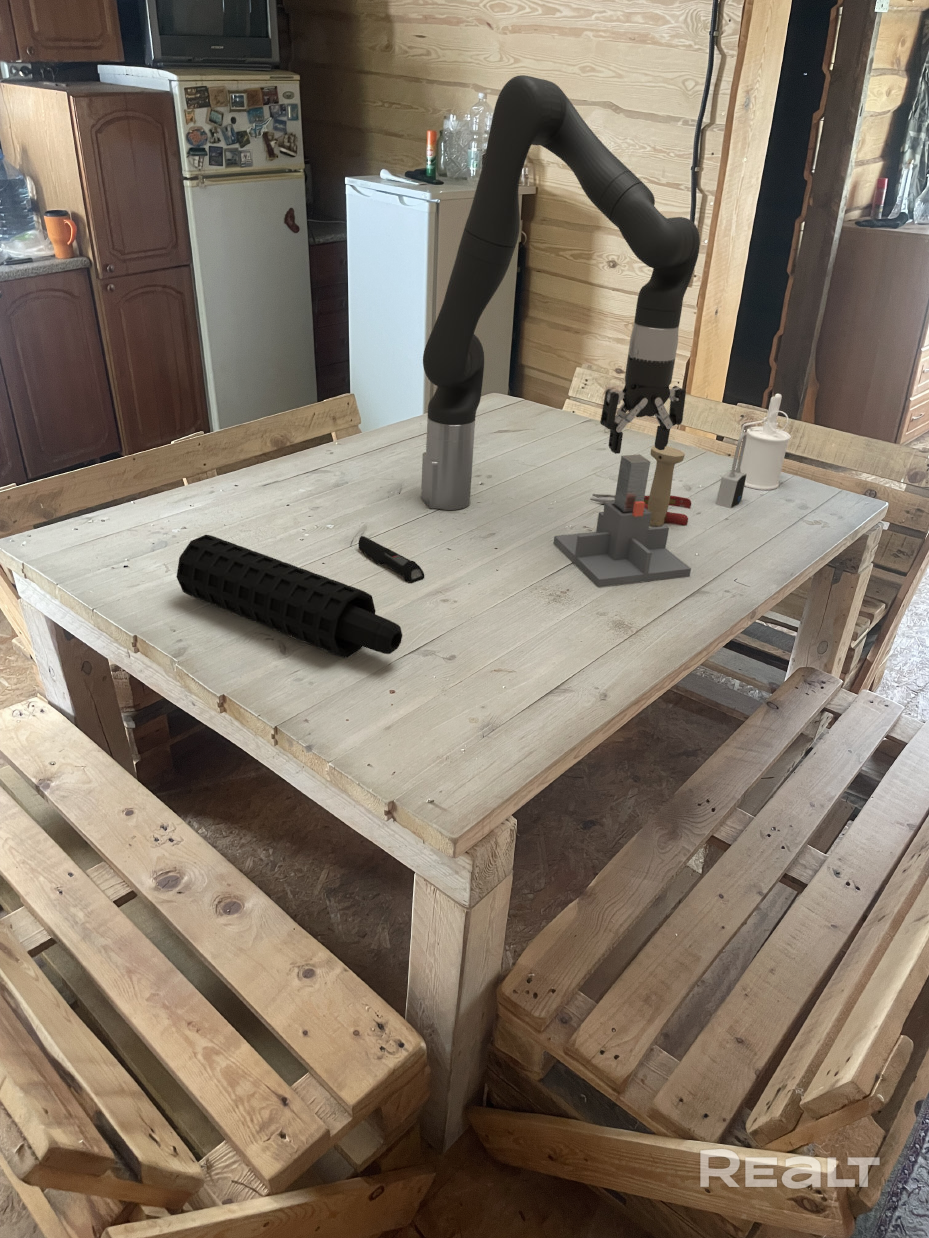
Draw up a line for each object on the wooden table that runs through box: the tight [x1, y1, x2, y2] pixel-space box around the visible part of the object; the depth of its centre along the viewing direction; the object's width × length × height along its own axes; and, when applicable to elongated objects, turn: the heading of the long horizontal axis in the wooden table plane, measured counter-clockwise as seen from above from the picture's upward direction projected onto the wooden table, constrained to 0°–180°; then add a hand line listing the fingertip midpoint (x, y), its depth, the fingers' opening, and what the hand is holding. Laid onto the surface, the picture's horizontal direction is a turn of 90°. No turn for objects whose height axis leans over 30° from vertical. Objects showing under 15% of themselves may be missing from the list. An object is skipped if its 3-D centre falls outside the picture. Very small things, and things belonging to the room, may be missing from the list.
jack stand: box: [553, 501, 692, 588], centre depth 159 cm, size 18×18×12 cm
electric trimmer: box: [358, 535, 425, 584], centre depth 154 cm, size 4×16×3 cm, turn 42°
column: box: [614, 453, 651, 514], centre depth 157 cm, size 4×4×17 cm
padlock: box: [715, 432, 747, 509], centre depth 187 cm, size 7×4×15 cm, turn 145°
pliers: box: [589, 493, 692, 527], centre depth 184 cm, size 12×20×3 cm, turn 73°
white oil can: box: [740, 393, 792, 491], centre depth 197 cm, size 10×9×20 cm
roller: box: [176, 534, 403, 659], centre depth 132 cm, size 38×10×10 cm, turn 58°
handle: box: [648, 445, 686, 527], centre depth 174 cm, size 5×6×15 cm
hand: (637, 450), depth 152 cm, fingers open, 8 cm apart
